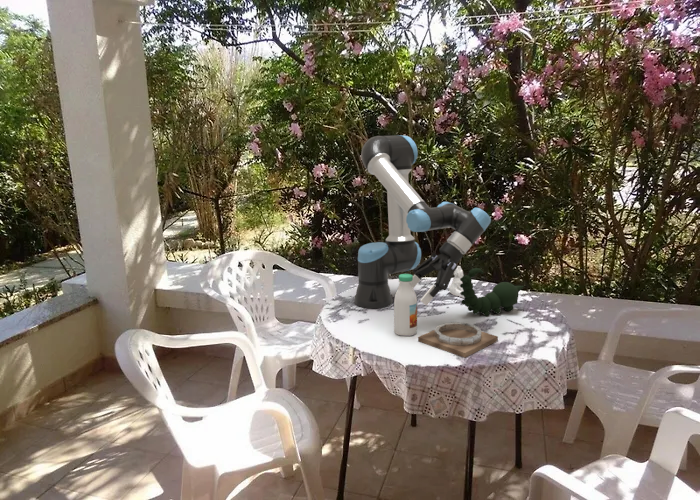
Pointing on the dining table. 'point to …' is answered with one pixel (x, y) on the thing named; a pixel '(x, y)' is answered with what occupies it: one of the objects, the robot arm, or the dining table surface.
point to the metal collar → (458, 341)
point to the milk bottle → (405, 307)
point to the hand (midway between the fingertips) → (413, 297)
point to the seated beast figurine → (457, 283)
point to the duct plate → (455, 349)
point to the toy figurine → (488, 295)
